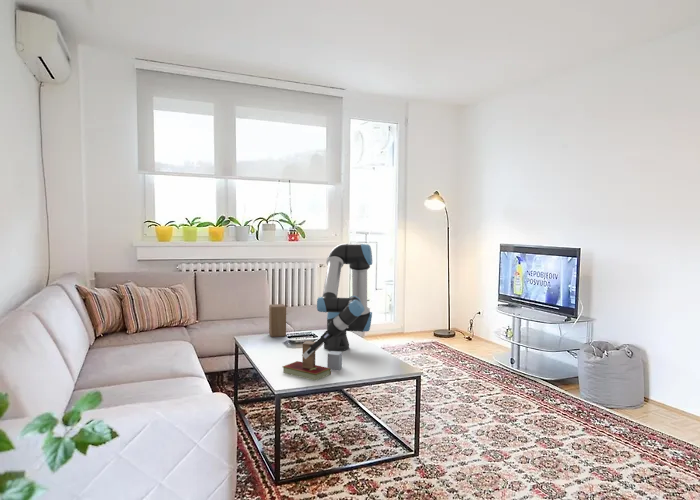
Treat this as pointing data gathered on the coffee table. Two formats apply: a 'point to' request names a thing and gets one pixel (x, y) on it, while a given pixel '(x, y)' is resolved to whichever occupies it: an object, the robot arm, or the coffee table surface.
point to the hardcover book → (306, 371)
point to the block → (277, 320)
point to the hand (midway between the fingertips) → (308, 353)
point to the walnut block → (310, 360)
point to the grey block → (334, 360)
